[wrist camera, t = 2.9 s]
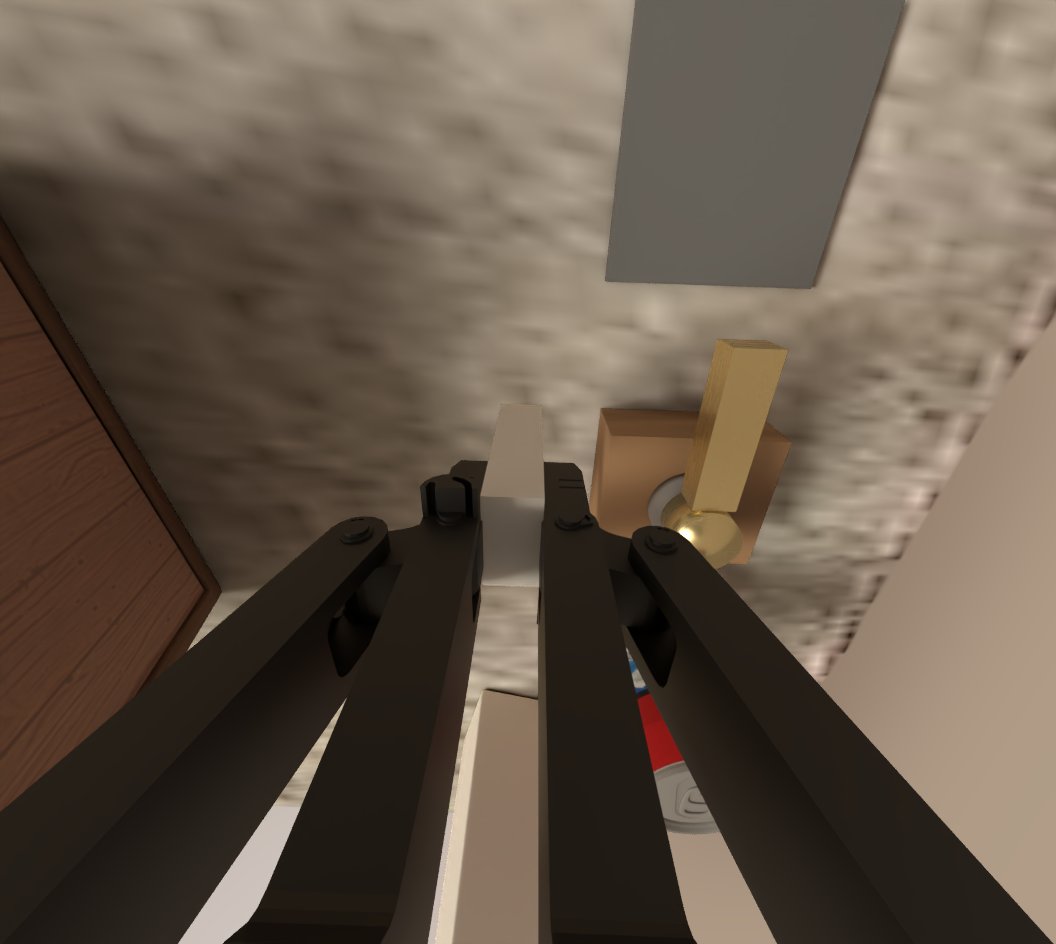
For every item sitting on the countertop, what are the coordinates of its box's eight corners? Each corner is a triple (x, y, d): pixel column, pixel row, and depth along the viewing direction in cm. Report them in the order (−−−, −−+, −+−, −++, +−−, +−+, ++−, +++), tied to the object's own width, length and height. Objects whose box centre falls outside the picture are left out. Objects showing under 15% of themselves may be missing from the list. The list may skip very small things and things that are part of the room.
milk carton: (482, 687, 33) (426, 1148, 16) (568, 703, 33) (601, 1158, 17) (464, 737, 36) (402, 1162, 19) (543, 750, 37) (549, 1170, 20)
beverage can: (702, 552, 26) (817, 762, 15) (679, 628, 29) (761, 844, 19) (594, 547, 26) (634, 755, 15) (583, 624, 29) (610, 839, 19)
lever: (700, 336, 16) (723, 349, 14) (775, 339, 16) (809, 352, 14) (655, 539, 20) (668, 570, 18) (713, 541, 20) (732, 572, 18)
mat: (635, -5, 14) (638, -12, 14) (896, 4, 14) (905, -2, 14) (604, 280, 19) (606, 281, 18) (805, 287, 19) (810, 288, 18)
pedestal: (600, 408, 22) (613, 440, 18) (755, 413, 22) (798, 446, 18) (587, 520, 25) (595, 565, 21) (721, 524, 25) (751, 570, 21)
